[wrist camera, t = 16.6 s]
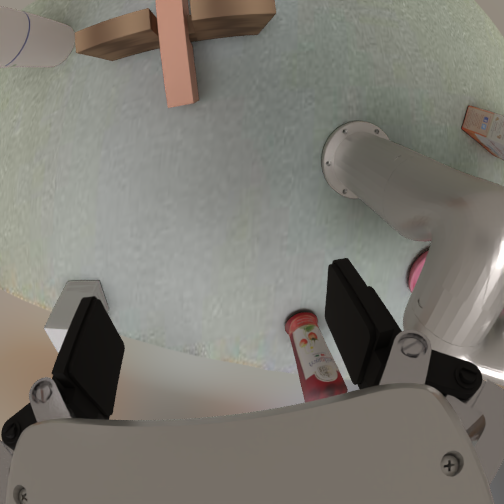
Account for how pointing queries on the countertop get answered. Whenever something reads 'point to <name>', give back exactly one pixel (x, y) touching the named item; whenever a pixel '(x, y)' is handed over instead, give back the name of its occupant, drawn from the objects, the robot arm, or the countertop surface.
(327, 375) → the liquor
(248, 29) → the walnut slotted plate
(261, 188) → the countertop surface
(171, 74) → the terracotta slotted plate
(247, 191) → the countertop surface
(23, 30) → the cylindrical container
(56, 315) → the supplement box
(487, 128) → the cracker box
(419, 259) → the saucer
